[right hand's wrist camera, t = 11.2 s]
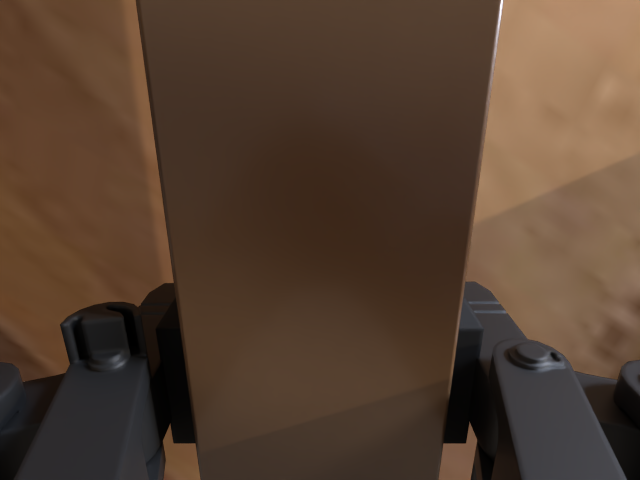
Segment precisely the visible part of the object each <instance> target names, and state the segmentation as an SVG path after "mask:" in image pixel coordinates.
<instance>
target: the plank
mask: <svg viewBox="0 0 640 480" xmlns="http://www.w3.org/2000/svg"><path fill="white" fill-rule="evenodd" d="M503 1H504V0H136V6H137V13H138V21H139V28H140V36H141V43H142V50H143V58H144V65H145V73H146V80H147V87H148V95H149V102H150V109H151V117H152V124H153V132H154V139H155V146H156V154H157V161H158V169H159V176H160V183H161V191H162V198H163V205H164V213H165V220H166V228H167V235H168V242H169V250H170V257H171V265H172V272H173V279H174V287H175V294H176V301H177V309H178V316H179V324H180V331H181V338H182V346H183V353H184V361H185V368H186V375H187V383H188V390H189V397H190V405H191V412H192V420H193V427H194V434H195V442H196V449H197V457H198V464H199V471H200V479H201V480H438V478H439V471H440V464H441V456H442V449H443V442H444V434H445V427H446V420H447V412H448V405H449V398H450V390H451V383H452V376H453V368H454V361H455V354H456V346H457V339H458V332H459V324H460V317H461V309H462V302H463V295H464V287H465V280H466V273H467V265H468V258H469V251H470V243H471V236H472V229H473V221H474V214H475V207H476V199H477V192H478V185H479V177H480V170H481V162H482V155H483V148H484V140H485V133H486V126H487V118H488V111H489V104H490V96H491V89H492V82H493V74H494V67H495V60H496V52H497V45H498V38H499V30H500V23H501V16H502V8H503Z"/></svg>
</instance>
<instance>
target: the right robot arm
mask: <svg viewBox="0 0 640 480" xmlns="http://www.w3.org/2000/svg"><path fill="white" fill-rule="evenodd" d="M60 326H61V330H62V334H63V338H64V342H65V346H66V350H67V354H68V358H69V362H70V365H69V367H68V369H67V371H66V373H64V374H60V375H56V376H51V377H46V378H41V379H36V380H31V381H26V382H22V379H21V376H20V372H19V369H18V368H17V367H15V366H14V365H13V364H11V363H4V362H0V480H163V478H164V470H165V462H166V459H165V452H164V446H163V439H164V436H165V434H166V432H167V429H168V427H169V425H170V424H171V430H172V436H173V443H196V442H195V434H194V427H193V420H192V412H191V405H190V397H189V390H188V383H187V375H186V368H185V361H184V353H183V346H182V338H181V331H180V324H179V316H178V309H177V301H176V294H175V287H174V283H164V284H163V285H161V286H159V287H158V288H156V289H155V290H153V291H151V292H150V293H149V294H148V295H147V297H146V298H145V299H144V300H143V302H142V303H141V306H139V307H137V306H135V305H134V304H130V303H126V302H107V303H102V304H96V305H92V306H90V307H87V308H84V309H81V310H79V311H77V312H75V313H74V314H72V315H70V316H68V317H67V318H66V319H65V320H64V321H63V322H62V323H61V324H60ZM469 421H470V423H471V426H472V428H473V431H474V433H475V435H476V438H477V446H476V452H475V457H474V463H473V469H472V475H471V480H640V360H635V361H629V362H627V363H626V364H624V365H623V366H622V367H621V370H620V374H619V377H618V380H614V379H609V378H604V377H599V376H594V375H589V374H584V373H580V372H576V371H573V369H572V366H571V364H570V363H569V362H568V360H567V359H566V358H565V357H564V355H562V354H561V353H559V352H558V351H556V350H555V349H554V348H552V347H550V346H547V345H545V344H542V343H540V342H537V341H533V340H528V339H527V338H526V337H525V335H524V334H523V333H522V331H521V330H520V329H519V328H518V326H517V325H516V324H515V322H514V321H513V320H512V319H511V317H510V316H509V315H508V313H506V311H505V310H504V308H503V307H502V306H501V304H499V302H498V300H497V299H496V298H495V297H494V295H493V294H492V293H491V291H489V290H488V289H486V288H484V287H483V286H481V285H480V284H478V283H476V282H465V287H464V295H463V302H462V309H461V317H460V324H459V332H458V339H457V346H456V354H455V361H454V368H453V376H452V383H451V390H450V398H449V405H448V412H447V420H446V427H445V434H444V442H443V443H466V440H467V433H468V427H469Z"/></svg>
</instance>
